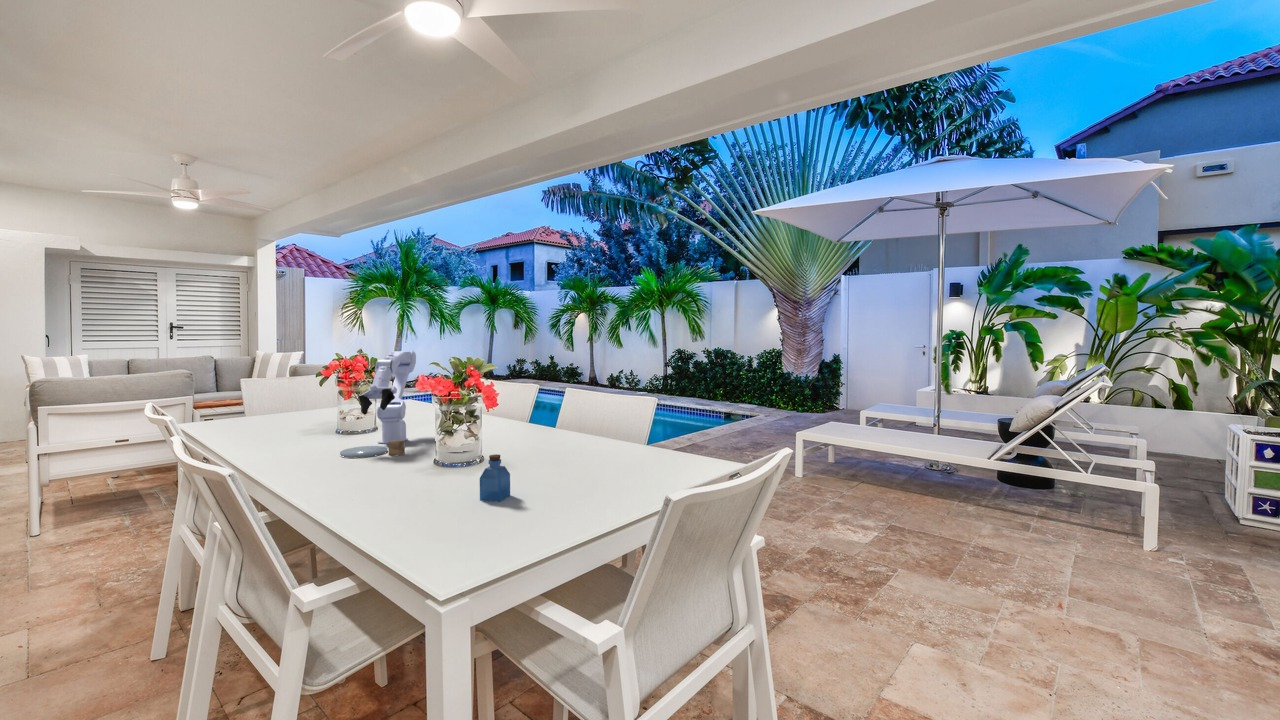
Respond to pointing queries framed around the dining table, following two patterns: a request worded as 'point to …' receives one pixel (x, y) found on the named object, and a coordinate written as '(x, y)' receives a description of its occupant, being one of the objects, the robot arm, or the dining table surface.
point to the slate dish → (363, 451)
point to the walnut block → (396, 447)
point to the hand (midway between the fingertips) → (372, 410)
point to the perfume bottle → (495, 481)
